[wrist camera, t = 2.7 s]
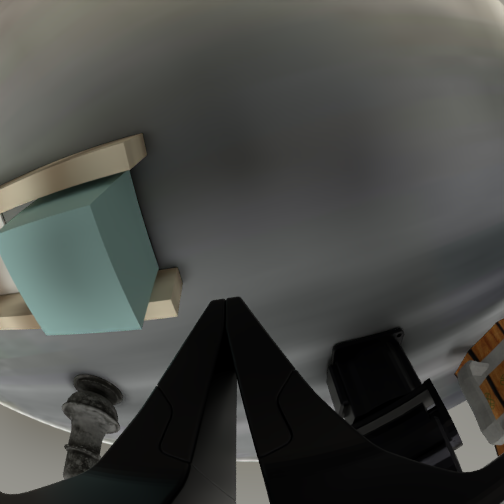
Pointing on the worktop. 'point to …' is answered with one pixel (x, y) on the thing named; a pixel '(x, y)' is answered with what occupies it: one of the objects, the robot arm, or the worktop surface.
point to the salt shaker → (89, 421)
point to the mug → (486, 384)
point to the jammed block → (83, 258)
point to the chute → (62, 177)
